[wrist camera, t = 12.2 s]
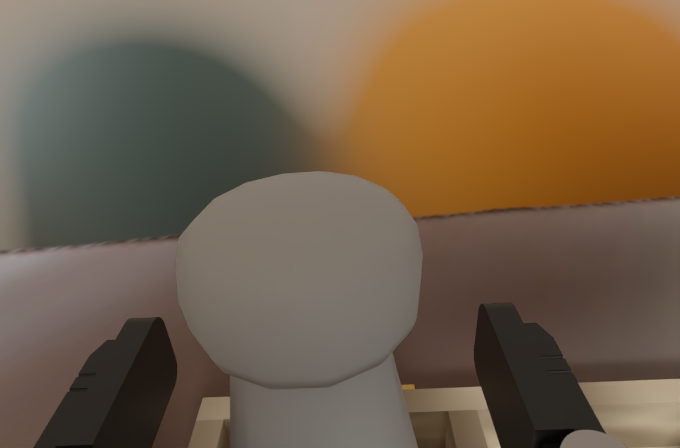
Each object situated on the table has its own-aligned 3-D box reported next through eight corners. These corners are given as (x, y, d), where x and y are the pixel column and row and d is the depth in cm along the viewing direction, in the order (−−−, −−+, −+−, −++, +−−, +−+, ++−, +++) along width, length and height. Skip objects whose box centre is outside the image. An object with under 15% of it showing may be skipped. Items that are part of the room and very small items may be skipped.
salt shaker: (204, 638, 13) (18, 259, 7) (304, 463, 18) (247, 130, 11) (401, 768, 11) (401, 380, 5) (460, 530, 15) (502, 157, 9)
